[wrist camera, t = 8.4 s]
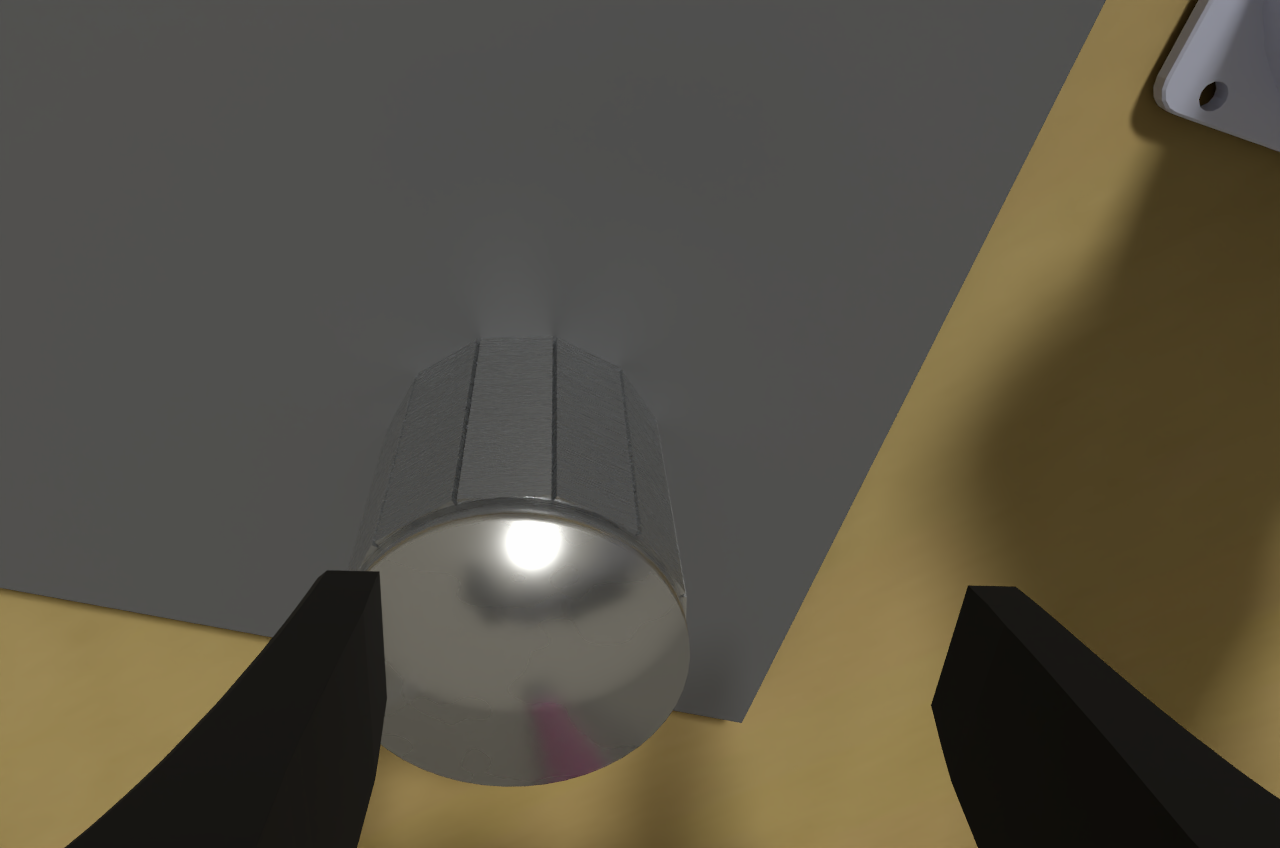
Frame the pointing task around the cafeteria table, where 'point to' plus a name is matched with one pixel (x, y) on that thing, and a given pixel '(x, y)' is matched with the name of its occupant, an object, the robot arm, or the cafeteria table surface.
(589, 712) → the cylinder
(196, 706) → the cafeteria table surface
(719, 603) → the base board
